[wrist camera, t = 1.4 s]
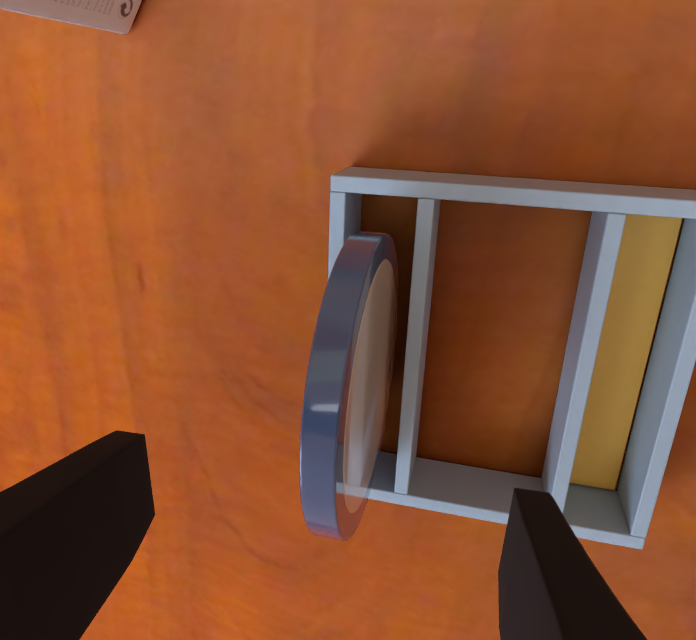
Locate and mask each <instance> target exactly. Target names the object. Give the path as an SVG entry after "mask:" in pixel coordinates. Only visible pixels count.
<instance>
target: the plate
mask: <svg viewBox="0 0 696 640" xmlns="http://www.w3.org/2000/svg"><path fill="white" fill-rule="evenodd" d="M398 294H399V280H398V261H397V253H396V248H395V244H394V241H393V239H392V236H390V235H389V234H388V233H380V232H369V231H356V232H354V233H353V234H351V235H350V236H349V238H348V239H347V240H346V241H345V243H344V245H343V246H342V248H341V250H340V252H339V254H338V257H337V259H336V261H335V263H334V266H333V268H332V271H331V274H330V277H329V279H328V283H327V286H326V289H325V292H324V296H323V299H322V303H321V307H320V311H319V315H318V319H317V323H316V328H315V332H314V337H313V342H312V347H311V353H310V358H309V364H308V370H307V377H306V384H305V391H304V400H303V409H302V419H301V433H300V454H299V480H300V495H301V504H302V510H303V515H304V519H305V523H306V525H307V527H308V529H309V531H310V532H311V533H313V534H314V535H316V536H321V537H326V538H331V539H335V540H340V541H347V540H348V539H350V538H351V537H352V535H353V534H354V532H355V531H356V529H357V527H358V525H359V523H360V520H361V518H362V515H363V513H364V510H365V507H366V504H367V500H368V497H369V494H370V490H371V487H372V483H373V479H374V475H375V471H376V467H377V462H378V458H379V453H380V448H381V443H382V438H383V433H384V427H385V422H386V416H387V409H388V403H389V396H390V389H391V382H392V374H393V365H394V356H395V346H396V334H397V320H398Z"/></svg>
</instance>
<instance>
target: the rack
mask: <svg viewBox="0 0 696 640" xmlns="http://www.w3.org/2000/svg"><path fill="white" fill-rule="evenodd" d="M330 189H331V192H330V222H329V259H328V279H329V277H330V274H331V271H332V268H333V266H334V263H335V261H336V259H337V257H338V254H339V252H340V250H341V248H342V246H343V245H344V243H345V241H346V240H347V239H348V238H349V236H350V235H351V234H353V233H354V232H356V231H360V230H361V208H362V194H374V195H387V196H400V197H413V198H418V204H417V217H416V229H415V241H414V254H413V266H412V278H411V291H410V303H409V315H408V328H407V340H406V352H405V364H404V377H403V389H402V401H401V414H400V426H399V438H398V451H397V454H395V453H389V452H383V451H380V453H379V458H378V462H377V467H376V471H375V475H374V479H373V483H372V487H371V490H370V494H369V497H368V499H373V500H379V501H384V502H389V503H395V504H400V505H405V506H411V507H416V508H421V509H427V510H432V511H438V512H443V513H448V514H454V515H459V516H464V517H470V518H475V519H481V520H486V521H491V522H497V523H502V524H507V523H508V518H509V512H510V507H511V502H512V496H513V491H514V488H521V489H528V490H535V491H542V492H549V493H550V494H551V496H552V497H553V498H554V499H555V501H556V503H557V505H558V506H559V508H560V510H561V512H562V513H563V515H564V517H565V519H566V520H567V522H568V524H569V525H570V527H571V529H572V530H573V532H574V534H575V535H576V537H577V538H583V539H588V540H593V541H599V542H604V543H609V544H615V545H620V546H625V547H631V548H636V549H643V546H644V543H645V537H646V535H647V532H648V528H649V525H650V521H651V518H652V514H653V511H654V507H655V504H656V500H657V497H658V493H659V489H660V486H661V482H662V479H663V475H664V472H665V468H666V465H667V461H668V458H669V454H670V450H671V447H672V443H673V440H674V436H675V433H676V429H677V426H678V422H679V419H680V415H681V412H682V408H683V404H684V401H685V397H686V394H687V390H688V387H689V383H690V380H691V376H692V373H693V369H694V365H695V362H696V190H694V189H679V188H664V187H649V186H634V185H619V184H604V183H589V182H574V181H559V180H544V179H529V178H514V177H499V176H484V175H470V174H455V173H440V172H425V171H410V170H395V169H380V168H365V167H348V168H346V169H344V170H342V171H340V172H337V173H335V174H333V175H331V187H330ZM441 200H453V201H466V202H479V203H492V204H505V205H518V206H531V207H544V208H557V209H570V210H584V211H592V215H591V220H590V226H589V231H588V236H587V241H586V247H585V252H584V257H583V262H582V268H581V273H580V278H579V283H578V288H577V294H576V299H575V304H574V309H573V315H572V320H571V325H570V330H569V336H568V341H567V346H566V351H565V357H564V362H563V367H562V372H561V377H560V383H559V388H558V393H557V398H556V404H555V409H554V414H553V419H552V425H551V430H550V435H549V440H548V446H547V451H546V456H545V461H544V466H543V472H542V478H537V477H531V476H525V475H519V474H513V473H508V472H502V471H496V470H490V469H484V468H478V467H472V466H466V465H460V464H454V463H448V462H442V461H436V460H430V459H424V458H418V457H416V454H417V444H418V433H419V423H420V412H421V402H422V391H423V381H424V370H425V360H426V349H427V339H428V328H429V318H430V307H431V297H432V287H433V276H434V266H435V255H436V245H437V234H438V224H439V213H440V203H441ZM682 218H685V219H684V223H683V227H682V231H681V235H680V239H679V243H678V247H677V251H676V255H675V259H674V263H673V267H672V271H671V275H670V279H669V283H668V287H667V291H666V295H665V299H664V303H663V307H662V311H661V315H660V319H659V323H658V327H657V331H656V335H655V339H654V343H653V347H652V351H651V355H650V359H649V363H648V367H647V371H646V375H645V379H644V383H643V387H642V391H641V395H640V399H639V403H638V407H637V411H636V415H635V419H634V423H633V427H632V431H631V435H630V439H629V443H628V447H627V451H626V455H625V459H624V463H623V467H622V471H621V475H620V479H619V483H618V487H617V491H614V490H615V488H616V483H617V479H618V475H619V471H620V467H621V463H622V459H623V455H624V451H625V447H626V443H627V439H628V435H629V431H630V427H631V423H632V419H633V415H634V411H635V407H636V403H637V399H638V395H639V391H640V387H641V383H642V379H643V375H644V371H645V367H646V363H647V359H648V355H649V351H650V347H651V343H652V339H653V335H654V331H655V327H656V323H657V319H658V315H659V311H660V306H661V302H662V298H663V294H664V290H665V286H666V282H667V278H668V274H669V270H670V266H671V262H672V258H673V254H674V250H675V246H676V242H677V238H678V234H679V230H680V226H681V222H682ZM573 483H574V484H573ZM579 484H580V485H579ZM585 485H586V486H585ZM591 486H592V487H591ZM597 487H598V488H597ZM603 488H604V489H603ZM608 489H610V490H608Z"/></svg>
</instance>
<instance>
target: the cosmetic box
mask: <svg viewBox="0 0 696 640" xmlns="http://www.w3.org/2000/svg"><path fill="white" fill-rule="evenodd" d="M141 1H142V0H0V9H2V10H7V11H12V12H17V13H22V14H27V15H32V16H36V17H41V18H46V19H51V20H56V21H62V22H66V23H71V24H75V25H81V26H86V27H91V28H96V29H101V30H106V31H111V32H116V33H121V34H127V33H128V32H129V31H130V28H131V26H132V23H133V21H134V19H135V16H136V14H137V11H138V9H139V6H140V4H141Z"/></svg>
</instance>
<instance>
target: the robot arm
mask: <svg viewBox="0 0 696 640" xmlns="http://www.w3.org/2000/svg"><path fill="white" fill-rule="evenodd" d="M154 516H155V511H154V503H153V495H152V487H151V480H150V472H149V464H148V457H147V449H146V441H145V434H138V433H131V432H124V431H115V432H112V433H110V434H108V435H106V436H104V437H102V438H100V439H98V440H96V441H94V442H92V443H91V444H89V445H87V446H85V447H83V448H81V449H79V450H78V451H76V452H74V453H72V454H70V455H69V456H67V457H65V458H63V459H61V460H59V461H58V462H56V463H54V464H52V465H50V466H48V467H47V468H45V469H43V470H41V471H39V472H37V473H36V474H34V475H32V476H30V477H28V478H26V479H25V480H23V481H21V482H19V483H17V484H15V485H13V486H12V487H10V488H8V489H6V490H4V491H2V492H0V640H79V639H80V638H81V636H82V635H83V633H84V632H85V630H86V629H87V627H88V626H89V624H90V623H91V622H92V620H93V619H94V617H95V616H96V614H97V613H98V611H99V610H100V608H101V607H102V605H103V604H104V602H105V601H106V599H107V598H108V596H109V595H110V593H111V592H112V590H113V589H114V587H115V586H116V584H117V583H118V581H119V580H120V578H121V577H122V575H123V574H124V572H125V571H126V569H127V568H128V566H129V565H130V563H131V561H132V560H133V558H134V556H135V554H136V552H137V550H138V548H139V546H140V544H141V542H142V540H143V538H144V536H145V534H146V532H147V530H148V528H149V526H150V524H151V522H152V520H153V518H154ZM498 581H499V629H500V637H501V640H647V639H646V637H645V636H644V635H643V633H642V632H641V631H640V629H639V628H638V627H637V625H636V624H635V623H634V621H633V620H632V619H631V617H630V616H629V615H628V613H627V612H626V610H625V609H624V608H623V606H622V605H621V604H620V602H619V601H618V599H617V598H616V596H615V595H614V593H613V592H612V591H611V589H610V588H609V586H608V585H607V583H606V582H605V580H604V579H603V577H602V576H601V574H600V573H599V571H598V570H597V568H596V567H595V565H594V564H593V562H592V561H591V559H590V558H589V556H588V555H587V553H586V551H585V550H584V548H583V547H582V545H581V543H580V542H579V540H578V539H577V537H576V535H575V534H574V532H573V530H572V529H571V527H570V525H569V524H568V522H567V520H566V519H565V517H564V515H563V513H562V512H561V510H560V508H559V506H558V505H557V503H556V501H555V499H554V498H553V497H552V496H551V494H550V493H549V492H542V491H535V490H528V489H521V488H514V491H513V496H512V502H511V507H510V512H509V518H508V523H507V528H506V534H505V539H504V544H503V550H502V555H501V560H500V565H499V571H498Z"/></svg>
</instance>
